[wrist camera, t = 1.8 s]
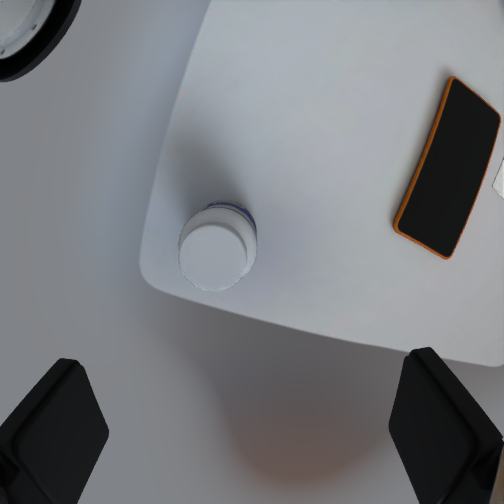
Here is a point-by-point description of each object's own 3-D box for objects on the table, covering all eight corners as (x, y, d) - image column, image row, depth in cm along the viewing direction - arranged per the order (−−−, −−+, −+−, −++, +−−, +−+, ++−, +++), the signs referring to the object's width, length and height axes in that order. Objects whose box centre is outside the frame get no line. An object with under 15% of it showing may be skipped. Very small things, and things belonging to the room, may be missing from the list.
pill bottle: (224, 273, 28) (210, 318, 19) (181, 229, 27) (149, 257, 18) (270, 232, 27) (276, 262, 18) (227, 186, 26) (212, 194, 17)
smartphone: (389, 228, 26) (392, 230, 26) (447, 75, 23) (452, 73, 22) (446, 260, 27) (451, 263, 26) (498, 117, 23) (503, 116, 22)
